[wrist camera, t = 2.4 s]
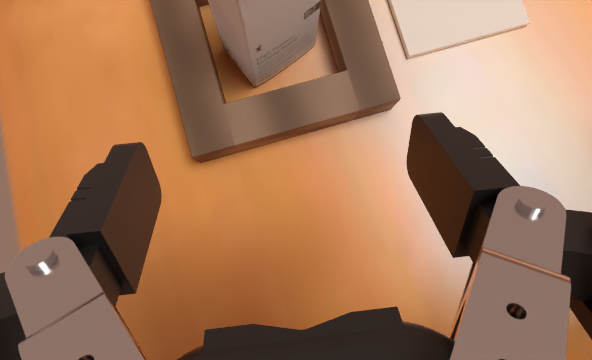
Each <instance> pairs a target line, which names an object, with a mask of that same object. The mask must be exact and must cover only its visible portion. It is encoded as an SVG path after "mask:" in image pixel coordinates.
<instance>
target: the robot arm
mask: <svg viewBox="0 0 592 360" xmlns="http://www.w3.org/2000/svg"><path fill="white" fill-rule="evenodd" d="M407 170H408V174H409V177H410V179H411V181H412V183H413V185H414V186H415V188H416V190H417V192H418V194H419V196H420V197H421V199H422V201H423V203H424V205H425V207H426V209H427V210H428V212H429V214H430V216H431V218H432V220H433V222H434V223H435V225H436V227H437V229H438V231H439V233H440V235H441V236H442V238H443V240H444V242H445V244H446V246H447V247H448V249H449V251H450V253H451V255H452V257H453V258H455V257H464V256H470V258H471V260H472V261H473V263H472V266H471V269H470V272H469V275H468V278H467V281H466V284H465V288H464V291H463V294H462V297H461V300H460V303H459V307H458V310H457V313H456V316H455V319H454V322H453V325H452V328H451V331H450V334H449V337H446V336H445V335H443V334H441V333H439V332H437V331H434V330H432V329H430V328H427V327H424V326H421V325H418V324H414V323H410V322H403V321H402V319H401V316H400V313H399V311H398V308H397V307H390V308H382V309H374V310H365V311H357V312H350V313H347V314H345V315H342V316H340V317H337V318H335V319H332V320H329V321H327V322H324V323H322V324H319V325H316V326H314V327H311V328H309V329H305V330H296V329H288V328H280V327H272V326H264V325H256V324H249V325H241V326H233V327H225V328H216V329H208V330H205V335H204V344H203V346H201V347H199V348H196V349H194V350H192V351H190V352H188V353H187V354H185V355H183V356H182V357H180V358H179V359H177V360H566V350H567V336H568V322H569V307H570V308H571V310H572V311H573V313H574V314H575V316H576V317H577V319H578V320H579V322H580V323H581V325H582V326H583V328H584V329H585V331H586V332H587V333H588V335H589V336H590V338H591V339H592V213H591V212H582V211H573V210H566V209H565V208H564V207H563V205H562V204H561V203H560V202H559V201H558V200H557V199H556V198H554V197H553V196H551V195H550V194H548V193H546V192H544V191H541V190H538V189H535V188H531V187H525V186H520V185H519V184H518V183H517V182H516V180H515V179H514V178H513V177H512V176H511V175H510V174H509V173H508V172H507V170H506V169H505V168H504V167H503V166H502V165H501V164H500V163H499V161H498V160H497V159H496V158H495V157H493V155H492V154H491V152H490V151H489V150H488V149H487V148H485V146H484V145H483V143H482V142H481V141H480V140H479V139H478V138H477V137H476V136H475V135H474V134H472V133H470V132H468V131H467V130H465V129H463V128H461V127H456V128H455V127H454V125H453V124H452V123H451V122H450V121H449V119H448V118H447V117H446V116H445V115H444V114H443V113H441V112H440V113H430V114H420V115H416V116H415V117H414V119H413V122H412V128H411V134H410V141H409V147H408V154H407ZM160 205H161V188H160V184H159V181H158V178H157V176H156V173H155V170H154V168H153V165H152V162H151V160H150V157H149V154H148V152H147V149H146V147H145V145H144V144H143V143H141V142H138V143H129V144H119V145H114V146H113V147H112V149H111V151H110V152H109V154H108V156H107V158H106V160H105V162H104V163H100V164H97V165H96V166H95V167H94V168H92V169H91V170H90V171H89V172H88V173H87V174H86V175H84V177H83V179H82V180H81V182H80V184H79V186H78V187H77V191H75V193H74V195H73V196H72V198H71V202H69V203H68V205H67V207H66V209H65V210H64V212H63V214H62V216H61V217H60V219H59V221H58V223H57V225H56V226H55V228H54V230H53V232H52V233H51V235H50V237H49V238H46V239H43V240H40V241H38V242H35V243H33V244H31V245H29V246H28V247H26V248H25V249H23V250H22V251H21V252H19V253H18V254H17V255H16V256H15V257H14V258H13V259H12V260H11V262H10V263H9V265H8V266H7V268H6V271H5V272H4V273H1V274H0V360H148V359H147V357H146V356H145V354H144V352H143V351H142V349H141V347H140V346H139V344H138V343H137V341H136V339H135V338H134V336H133V334H132V333H131V331H130V329H129V328H128V326H127V325H126V323H125V321H124V320H123V318H122V316H121V315H120V313H119V312H118V310H117V308H116V307H115V306H116V303H117V300H118V297H119V295H127V294H135V293H136V291H137V287H138V283H139V280H140V276H141V273H142V269H143V265H144V262H145V258H146V255H147V251H148V248H149V244H150V240H151V237H152V233H153V230H154V226H155V222H156V219H157V215H158V212H159V208H160Z"/></svg>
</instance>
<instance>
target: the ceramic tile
mask: <svg viewBox="0 0 592 360" xmlns="http://www.w3.org/2000/svg"><path fill="white" fill-rule="evenodd" d="M388 2H389V5H390V8H391V11H392V14H393V17H394V20H395V23H396V26H397V29H398V32H399V35H400V38H401V41H402V44H403V47H404V50H405V53H406V56H407V59H408V58H412V57H416V56H419V55H423V54H427V53H430V52H434V51H438V50H441V49H445V48H449V47H452V46H456V45H459V44H463V43H467V42H470V41H474V40H478V39H481V38H485V37H489V36H492V35H496V34H499V33H503V32H507V31H510V30H514V29H518V28H521V27H525V26H527V25H528V24H529V23H530V21H529V18H528V16H527V13H526V10H525V7H524V5H523V2H522V0H388Z"/></svg>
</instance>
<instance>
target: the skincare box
mask: <svg viewBox="0 0 592 360" xmlns="http://www.w3.org/2000/svg"><path fill="white" fill-rule="evenodd" d="M321 1H322V0H208V3H209V6H210V9H211V12H212V15H213V17H214V20H215V23H216V26H217V29H218V32H219V35H220V38H221V41H222V44H223V47H224V49H225V51H226V52H227V53H228V54H229V56H230V57H231V58H232V60H233V61H234V62H235V63H236V65H237V66H238V67H239V69H240V70H241V71H242V72H243V74H244V75H245V76H246V77H247V79H248V80H249V81H250V82H251V83H252V85H253V86H259V85H261V84H262V83H264V82H266V81H267V80H269V79H270V78H272V77H273V76H275V75H276V74H278V73H279V72H281V71H282V70H283V69H285V68H286V67H288V66H289V65H290V64H292V63H293V62H294V61H296V60H297V59H298V58H300V57H301V56H302V55H304V54H305V53H306V52H307V51H309V50H310V49H311V48H312V47H313V46H314V45H315V41H316V33H317V27H318V20H319V14H320V7H321Z"/></svg>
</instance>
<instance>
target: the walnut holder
mask: <svg viewBox="0 0 592 360" xmlns="http://www.w3.org/2000/svg"><path fill="white" fill-rule="evenodd" d="M150 1H151V5H152V8H153V12H154V16H155V20H156V23H157V27H158V31H159V34H160V38H161V42H162V46H163V49H164V53H165V57H166V61H167V64H168V68H169V72H170V76H171V79H172V83H173V87H174V91H175V94H176V98H177V102H178V106H179V109H180V113H181V117H182V121H183V124H184V128H185V132H186V136H187V139H188V143H189V147H190V151H191V154H192V157H193V158H194V159H196V160H197V161H199V162H200V163H202V162H205V161H209V160H212V159H216V158H220V157H223V156H227V155H230V154H234V153H237V152H241V151H244V150H248V149H252V148H255V147H259V146H262V145H266V144H269V143H273V142H276V141H280V140H284V139H287V138H291V137H294V136H298V135H301V134H305V133H308V132H312V131H315V130H319V129H323V128H326V127H330V126H333V125H337V124H340V123H344V122H347V121H351V120H355V119H358V118H362V117H365V116H369V115H372V114H376V113H379V112H383V111H387V110H390V109H392V107H393V106H394V105H395V104H396V103H397V102H398V101H399V100H400V99H401V98H400V95H399V92H398V89H397V86H396V83H395V80H394V77H393V74H392V71H391V68H390V65H389V62H388V59H387V56H386V53H385V50H384V47H383V44H382V41H381V38H380V35H379V32H378V29H377V26H376V23H375V19H374V16H373V13H372V10H371V7H370V4H369V1H368V0H322V1H321V7H320V15H321V18H322V21H323V24H324V27H325V30H326V34H327V37H328V40H329V43H330V46H331V49H332V53H333V56H334V59H335V62H336V65H337V69H338V72H339V73H335V74H332V75H328V76H325V77H321V78H317V79H314V80H310V81H306V82H303V83H299V84H295V85H292V86H288V87H284V88H281V89H277V90H273V91H270V92H266V93H262V94H259V95H255V96H251V97H248V98H244V99H241V100H237V101H233V102H230V103H226V102H225V98H224V94H223V91H222V87H221V84H220V80H219V77H218V73H217V70H216V66H215V62H214V59H213V55H212V52H211V48H210V45H209V41H208V37H207V34H206V30H205V27H204V23H203V20H202V16H201V12H200V9H199V6H203V5H207V4H209V3H208V0H150Z"/></svg>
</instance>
